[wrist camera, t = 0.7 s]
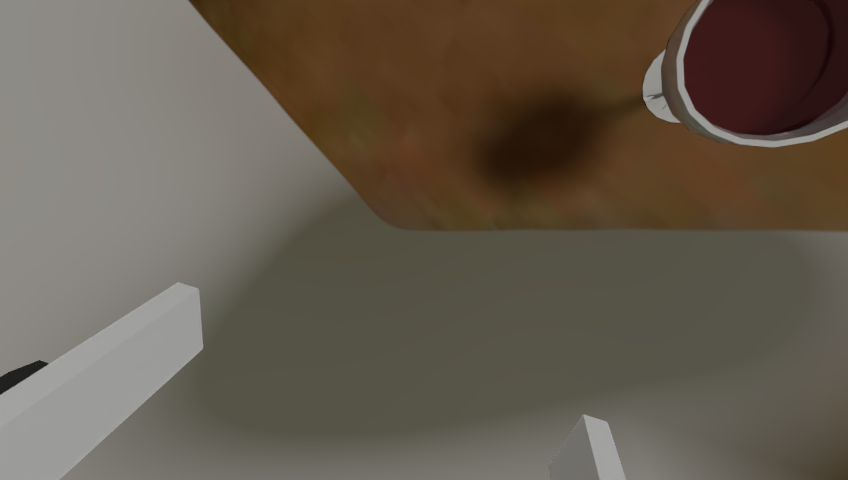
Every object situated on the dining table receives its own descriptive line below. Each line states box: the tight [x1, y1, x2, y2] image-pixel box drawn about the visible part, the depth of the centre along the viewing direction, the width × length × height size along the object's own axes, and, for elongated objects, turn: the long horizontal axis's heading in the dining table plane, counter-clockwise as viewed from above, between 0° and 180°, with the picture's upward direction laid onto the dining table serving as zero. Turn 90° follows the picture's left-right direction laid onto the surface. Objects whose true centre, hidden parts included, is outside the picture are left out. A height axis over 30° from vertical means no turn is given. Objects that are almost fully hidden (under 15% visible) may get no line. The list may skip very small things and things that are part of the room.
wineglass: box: [643, 0, 848, 147], centre depth 17 cm, size 7×7×12 cm
